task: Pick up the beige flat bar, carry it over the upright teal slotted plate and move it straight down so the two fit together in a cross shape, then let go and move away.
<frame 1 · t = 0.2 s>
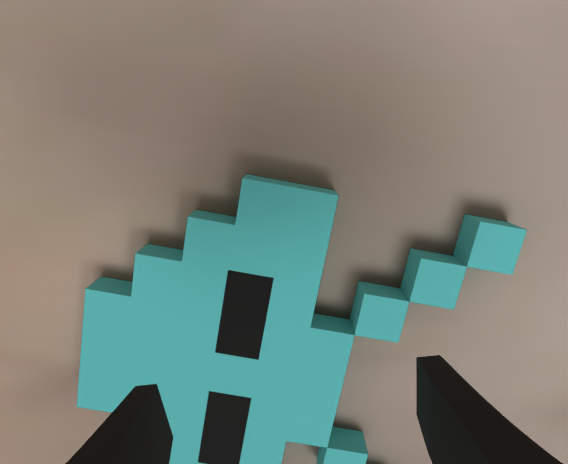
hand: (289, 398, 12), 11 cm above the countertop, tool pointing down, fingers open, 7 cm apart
alien figure: (277, 357, 24), on the countertop
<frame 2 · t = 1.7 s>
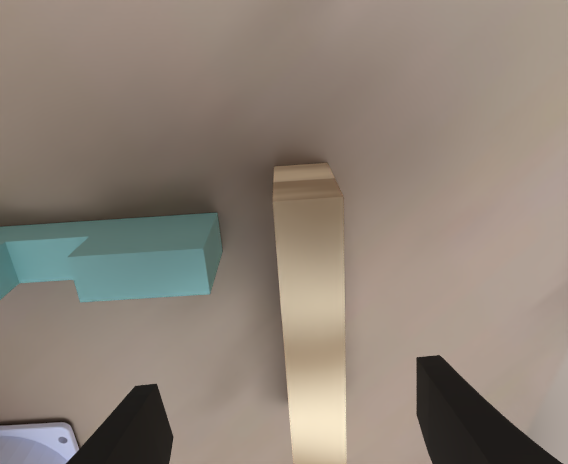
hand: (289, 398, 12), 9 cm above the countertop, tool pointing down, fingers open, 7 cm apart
beige flat bar: (307, 299, 21), on the countertop
teal plate: (74, 241, 20), on the countertop
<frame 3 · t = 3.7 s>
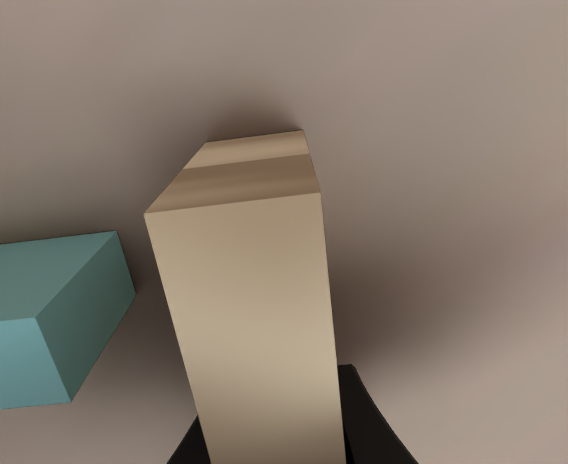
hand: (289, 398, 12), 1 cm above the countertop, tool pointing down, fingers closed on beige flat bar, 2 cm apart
beige flat bar: (288, 363, 13), on the countertop, touching gripper
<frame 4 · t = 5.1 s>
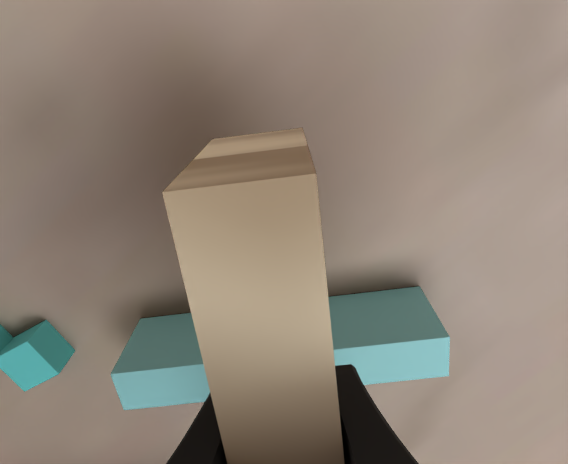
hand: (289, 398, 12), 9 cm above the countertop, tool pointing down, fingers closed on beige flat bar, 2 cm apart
beige flat bar: (288, 349, 14), point 7 cm above the countertop, touching gripper
teal plate: (280, 319, 21), on the countertop
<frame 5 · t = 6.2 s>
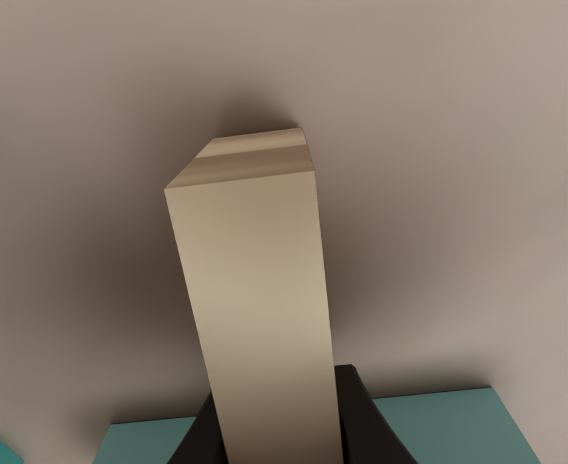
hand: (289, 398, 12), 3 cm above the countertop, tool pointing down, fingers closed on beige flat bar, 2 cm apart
beige flat bar: (288, 347, 14), on the countertop, touching gripper
teal plate: (300, 426, 16), on the countertop
when the fingers open (2 cm above the countertop, at t = 6.7 s): beige flat bar stays where it is, on the countertop.
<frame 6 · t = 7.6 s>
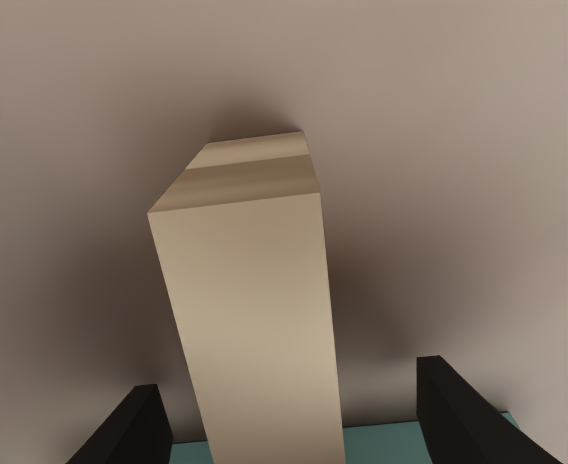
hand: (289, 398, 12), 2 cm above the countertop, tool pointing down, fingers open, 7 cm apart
beige flat bar: (288, 362, 13), on the countertop
teal plate: (302, 453, 15), on the countertop
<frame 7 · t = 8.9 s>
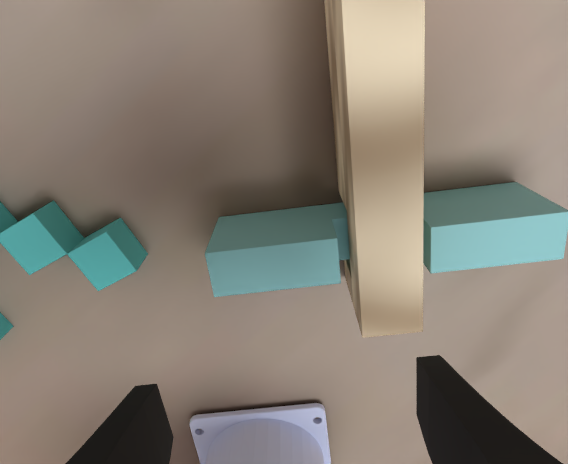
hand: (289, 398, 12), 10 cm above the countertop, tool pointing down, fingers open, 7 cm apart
beige flat bar: (361, 136, 19), on the countertop
teal plate: (366, 219, 20), on the countertop
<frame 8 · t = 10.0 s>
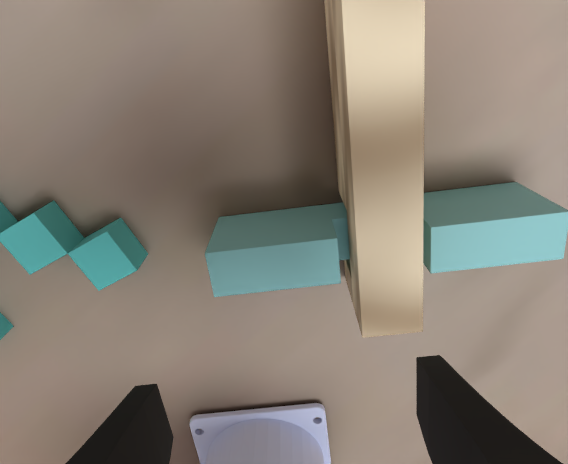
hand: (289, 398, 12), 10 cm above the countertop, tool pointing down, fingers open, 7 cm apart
beige flat bar: (361, 136, 19), on the countertop
teal plate: (366, 219, 20), on the countertop
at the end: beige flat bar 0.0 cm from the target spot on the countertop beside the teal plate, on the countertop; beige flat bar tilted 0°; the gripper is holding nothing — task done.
